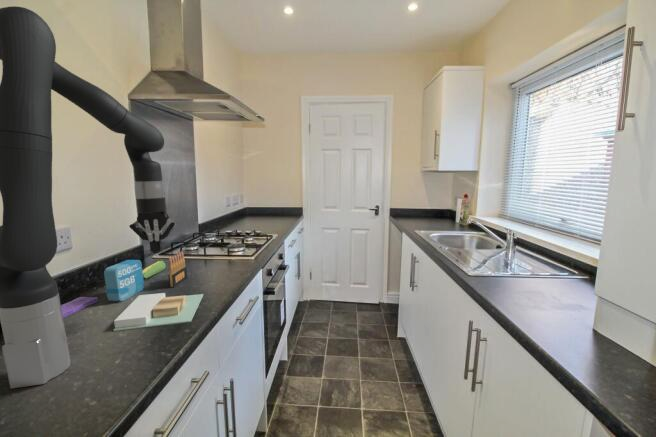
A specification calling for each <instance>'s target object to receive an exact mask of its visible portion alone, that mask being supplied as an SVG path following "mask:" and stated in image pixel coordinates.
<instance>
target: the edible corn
mask: <svg viewBox="0 0 656 437" xmlns="http://www.w3.org/2000/svg"><path fill="white" fill-rule="evenodd" d="M166 267H167V266H166V263H165V261H164V260H162V259H159V260H156V261H154V262H152V263H151V264H149V265H148V266H147V267H145V268H144V269H142V272H143V280H144V282H145V281H146V280H148V279H149V278H151V277H153V276H155V275H157V274H159V273H160V272H162V271H164V270H165V268H166Z"/></svg>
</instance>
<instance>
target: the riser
mask: <svg viewBox="0 0 656 437" xmlns="http://www.w3.org/2000/svg"><path fill="white" fill-rule="evenodd" d="M163 297H167V296H166V292H159V293H150V294H140V295H137V297H136V298H135V299H134V300H133V301H132V302H131V303H130V304H129V305H128V306H127V307H126V308H125V309H124V310H123V311H122V312H121V313H120V314H119V315H118V316H117V317H116V318H115V319H114V321H113V322H114V324H113V325H114V329H115V328H120V327H129V326H137V325H146V324H147V323H148V322H149V320H150V319H151V318H152V317H153V308H154V307H155V306H156V305H157V304H158V303H159V301H160V300H161V299H162V298H163Z"/></svg>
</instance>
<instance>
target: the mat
mask: <svg viewBox="0 0 656 437" xmlns="http://www.w3.org/2000/svg"><path fill="white" fill-rule="evenodd" d="M203 296H204V293H201V294H190V295H189V294H188V295H186V304H185V305H184V307H183V308H182V310H181V312H180V313H179V315H172V316H163V317H152V318H151V319H150V320H149V322H148V323H147V324H146V325H137V326H129V327H120V328H115V327H114V329H113V332H119V331H127V330H135V329H144V328H150V327H151V328H152V327H160V326H169V325H177V324H184V323H192V320H193V318H194V316H195V313H196V311H197V310H198V307H199V305H200V303H201V301H202V299H203Z"/></svg>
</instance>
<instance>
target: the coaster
mask: <svg viewBox="0 0 656 437" xmlns="http://www.w3.org/2000/svg"><path fill="white" fill-rule="evenodd" d="M186 296H187V295H185V294H184V295H177V296H176V295H175V296H174V295H172V296H166V297H163V298H162V299H161V300H160V301H159V303H158V304H157V305H156V306H155V307H154V308H153V317H163V316H172V315H179V313H180V312H181V310H182V308H183V307H184V305H185V304H186Z"/></svg>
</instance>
